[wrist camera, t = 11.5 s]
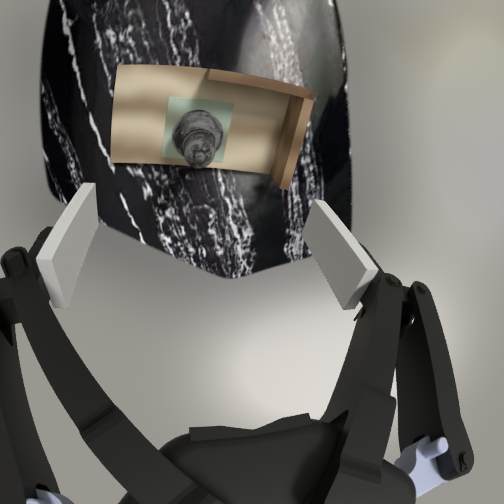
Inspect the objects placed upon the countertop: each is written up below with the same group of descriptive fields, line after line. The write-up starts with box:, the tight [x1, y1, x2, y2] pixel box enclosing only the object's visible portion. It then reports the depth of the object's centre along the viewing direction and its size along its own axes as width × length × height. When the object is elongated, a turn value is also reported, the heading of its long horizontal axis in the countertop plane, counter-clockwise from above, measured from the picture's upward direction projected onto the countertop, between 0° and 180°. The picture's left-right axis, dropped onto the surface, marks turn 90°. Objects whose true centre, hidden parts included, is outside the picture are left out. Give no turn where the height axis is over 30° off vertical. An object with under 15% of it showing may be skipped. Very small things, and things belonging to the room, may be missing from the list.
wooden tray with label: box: [111, 65, 317, 190], centre depth 29 cm, size 13×23×6 cm, turn 78°
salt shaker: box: [172, 109, 224, 168], centre depth 27 cm, size 6×6×12 cm
